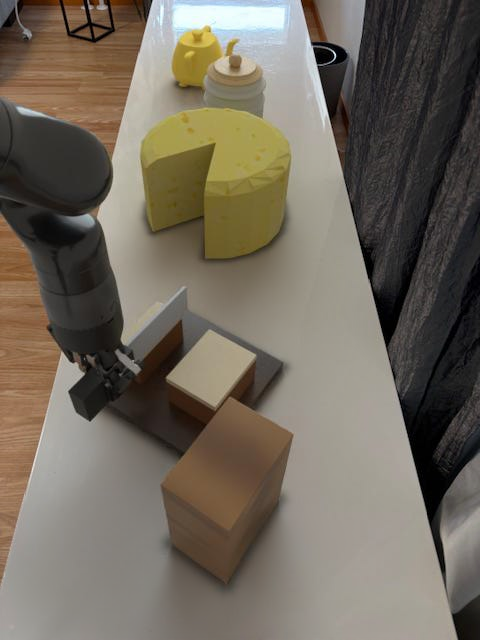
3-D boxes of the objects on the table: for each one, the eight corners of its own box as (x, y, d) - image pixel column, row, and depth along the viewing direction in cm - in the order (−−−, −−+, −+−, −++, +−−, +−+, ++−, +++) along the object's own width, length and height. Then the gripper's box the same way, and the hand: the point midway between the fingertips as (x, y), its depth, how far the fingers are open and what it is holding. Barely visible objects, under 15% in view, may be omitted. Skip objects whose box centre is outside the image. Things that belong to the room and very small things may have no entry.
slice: (141, 384, 80) (137, 360, 75) (117, 370, 81) (111, 345, 77) (183, 339, 85) (181, 313, 81) (160, 326, 87) (157, 300, 82)
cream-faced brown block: (215, 429, 76) (215, 407, 71) (168, 401, 78) (165, 377, 74) (254, 378, 81) (256, 354, 77) (209, 353, 84) (209, 328, 79)
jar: (221, 111, 129) (222, 33, 116) (272, 127, 126) (279, 48, 112) (193, 139, 122) (190, 59, 108) (245, 157, 118) (249, 76, 105)
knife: (90, 422, 69) (82, 401, 65) (75, 412, 70) (67, 391, 66) (193, 313, 81) (192, 289, 77) (180, 306, 81) (178, 282, 77)
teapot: (190, 102, 132) (188, 51, 122) (161, 75, 139) (157, 26, 130) (239, 87, 137) (241, 37, 127) (209, 62, 144) (208, 13, 135)
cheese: (154, 266, 97) (146, 197, 85) (141, 176, 113) (133, 107, 101) (299, 250, 101) (310, 181, 89) (266, 164, 117) (272, 97, 105)
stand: (226, 584, 65) (228, 531, 51) (171, 544, 68) (160, 484, 54) (278, 500, 71) (293, 433, 57) (227, 467, 74) (229, 396, 60)
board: (206, 471, 74) (205, 466, 72) (92, 397, 80) (90, 391, 79) (282, 367, 84) (283, 362, 83) (177, 310, 91) (176, 304, 90)
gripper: (7, 293, 58) (45, 384, 71) (108, 354, 54) (129, 440, 67) (59, 252, 62) (86, 346, 76) (157, 306, 58) (168, 396, 71)
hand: (106, 390), depth 71 cm, fingers closed on knife, 2 cm apart
